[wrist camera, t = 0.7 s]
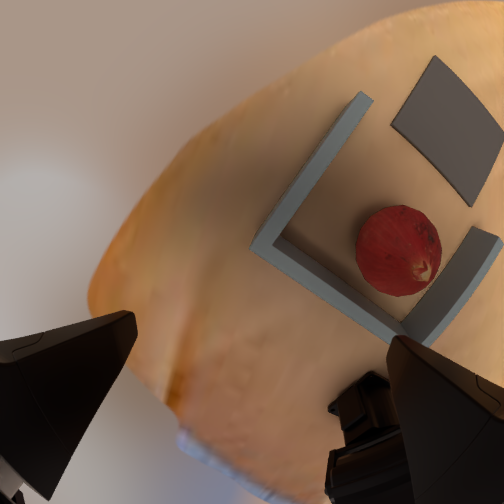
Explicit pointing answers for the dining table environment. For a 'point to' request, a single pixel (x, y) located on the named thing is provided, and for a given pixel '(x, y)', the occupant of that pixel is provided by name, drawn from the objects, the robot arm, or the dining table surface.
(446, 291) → the u-shaped frame
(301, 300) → the dining table surface
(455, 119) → the mat
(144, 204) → the dining table surface
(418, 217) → the onion
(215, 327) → the dining table surface
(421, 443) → the robot arm
